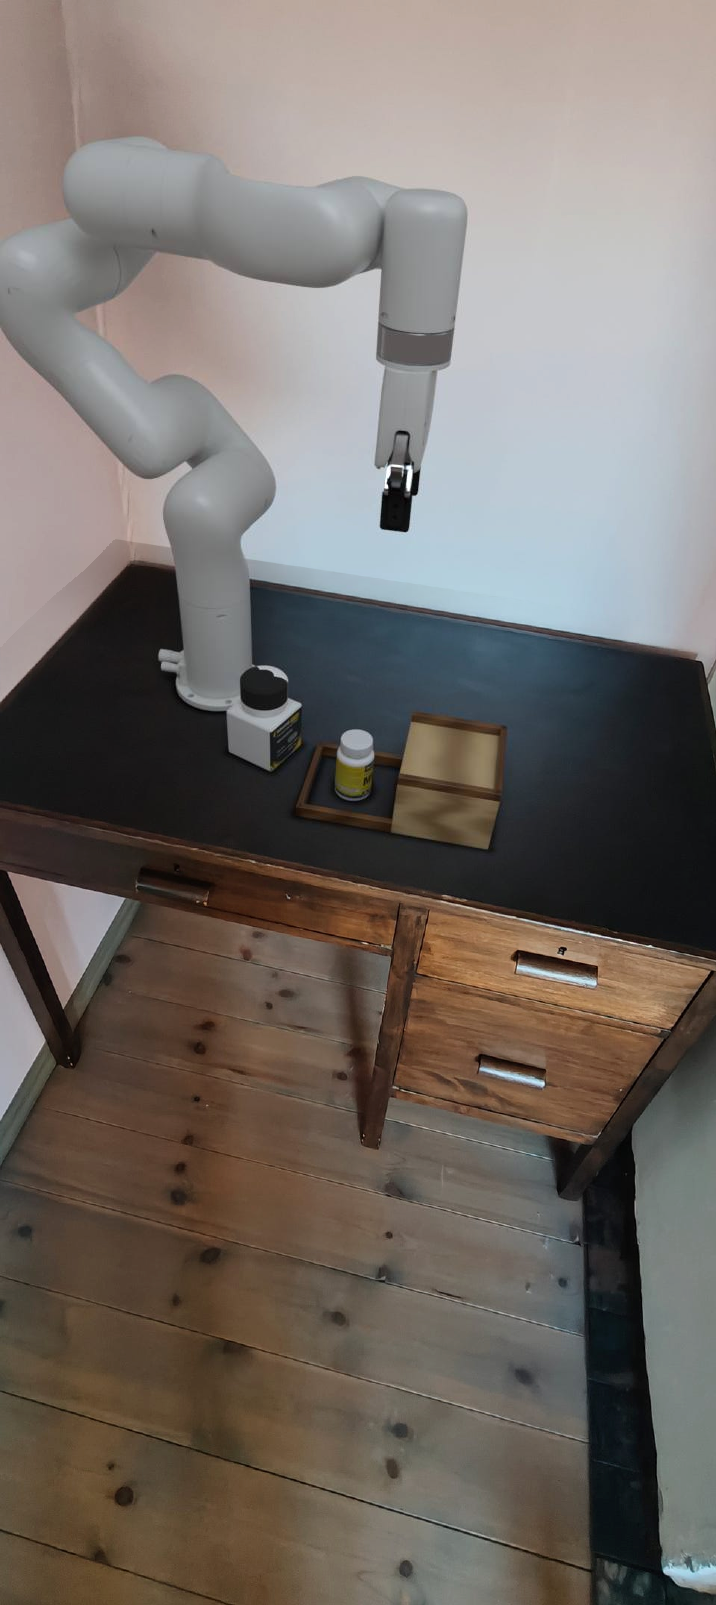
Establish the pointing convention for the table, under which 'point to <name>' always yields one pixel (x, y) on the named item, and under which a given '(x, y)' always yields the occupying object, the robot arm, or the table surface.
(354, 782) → the supplement bottle
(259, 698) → the medicine bottle
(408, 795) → the shelf rack
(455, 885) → the table surface
